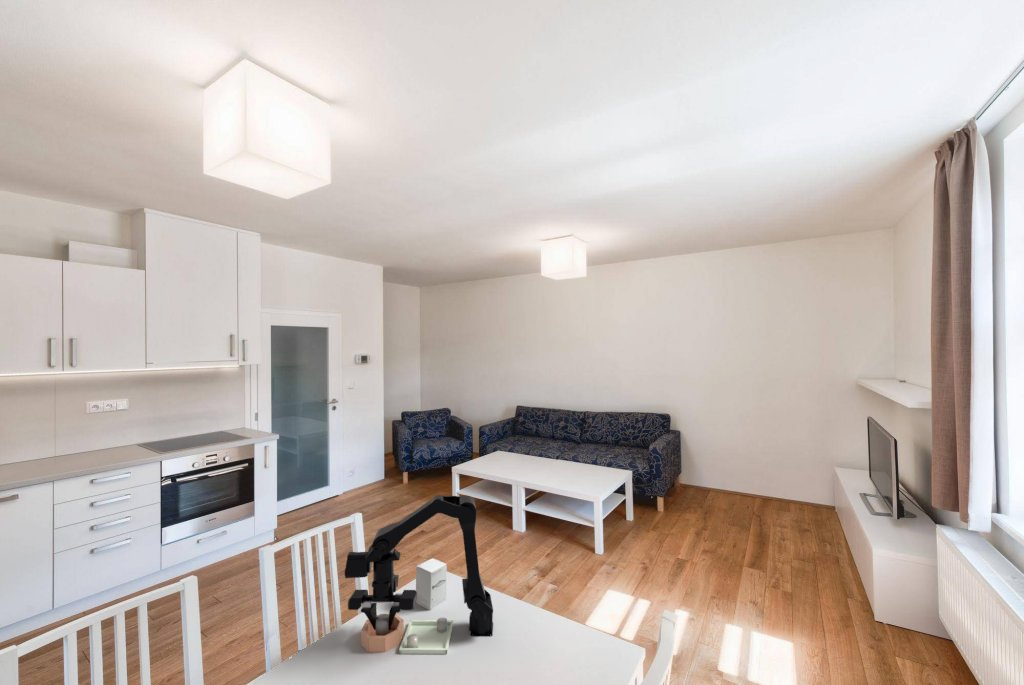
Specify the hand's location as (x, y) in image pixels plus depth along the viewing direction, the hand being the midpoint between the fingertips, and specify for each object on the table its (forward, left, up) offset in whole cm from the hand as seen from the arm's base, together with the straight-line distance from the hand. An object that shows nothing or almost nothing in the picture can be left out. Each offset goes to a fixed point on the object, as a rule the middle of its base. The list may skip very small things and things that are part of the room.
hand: (382, 629), depth 124 cm
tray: (-13, 0, -3) cm, 13 cm away
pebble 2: (-16, -4, -3) cm, 17 cm away
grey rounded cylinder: (0, 0, -1) cm, 1 cm away
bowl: (0, 0, -3) cm, 3 cm away
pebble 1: (-9, +4, -3) cm, 11 cm away
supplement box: (-10, -18, -3) cm, 22 cm away
